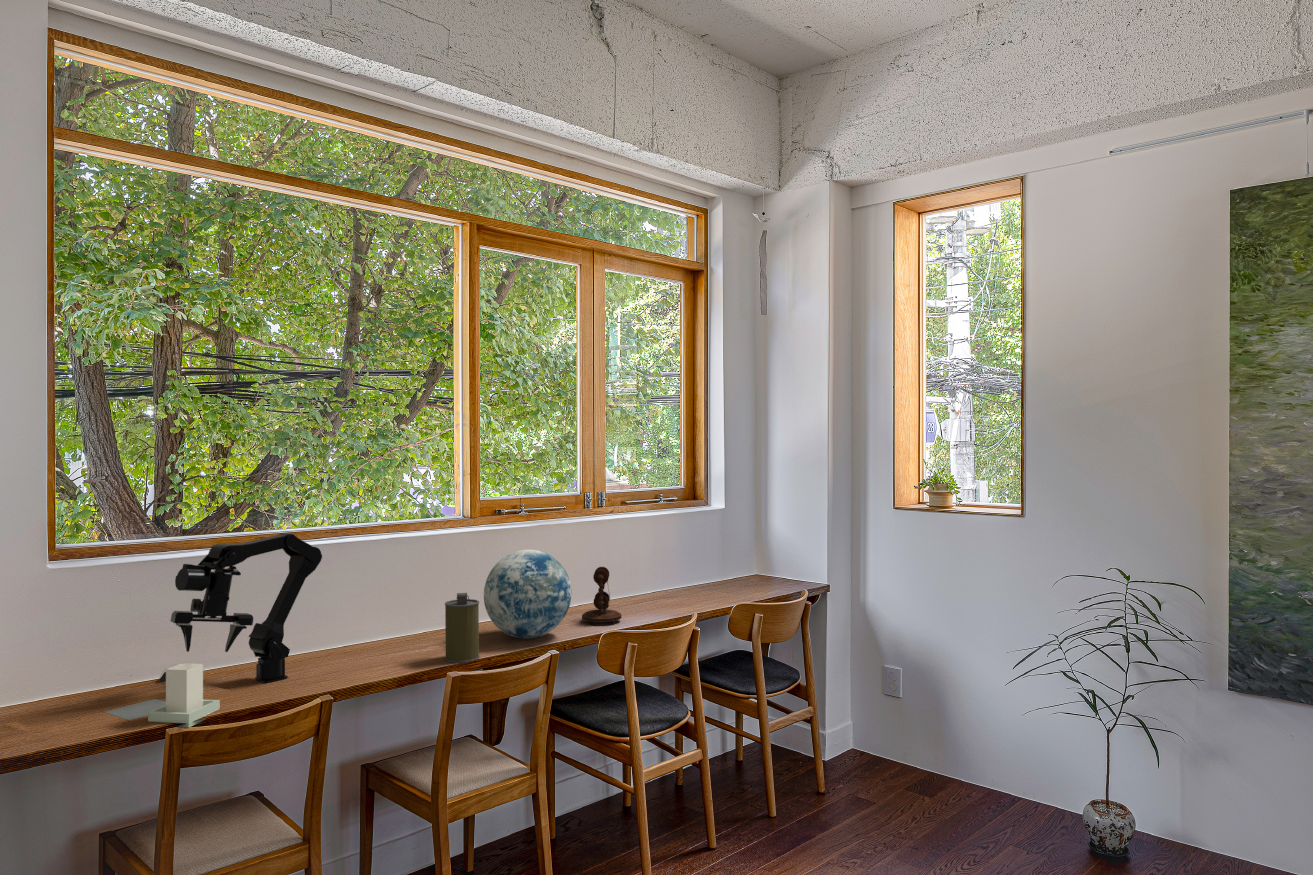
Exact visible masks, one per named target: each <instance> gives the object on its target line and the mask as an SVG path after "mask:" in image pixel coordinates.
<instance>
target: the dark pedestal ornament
mask: <svg viewBox="0 0 1313 875" xmlns="http://www.w3.org/2000/svg"><path fill="white" fill-rule="evenodd" d="M592 576H593V577H592V579H593V581H594V582H595V583H596V585H597V586H598V590H597V592H596V594H595V595H594V599H593V605H594V608H596V609H592V610H591V609H590V610H588V611H585V612H584V613H582V615H581V620H583V621H585V622H586V624H587V625H590V622H591V623H606V622H607V623H609V622H612V624H613V625H615V624H616V621H619V620H620V619H622V613H621V612H619V611H617V610H614V609H609V607H610V603H611V593H610V588H609V586H607V589H608V592H607V591H605V587H606V584H607V585H609V578H610V571H609V569H608V568H607V567H605V566H599V567H597V568H596V569H595V571H594V573H593V575H592Z"/></svg>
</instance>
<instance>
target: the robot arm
mask: <svg viewBox="0 0 1313 875" xmlns="http://www.w3.org/2000/svg"><path fill="white" fill-rule="evenodd" d="M278 550H283V552H284V553H285V554H286V555H287V556H289V561H288V573H287V576H286V577H285V580H284V582H283V584H282V587H281V589H280V590H279V592H278V594H277V597H276V598H275V601H274V602H273V605H272V607H271V609H270V611H269V613H268V615H267V617H266V619H265V620H264V621H263V622H261V623H258V622H256V623H255V624H254V616H253V615H252V614H251V613H247V612H246V613H245V612H233V615H229V614H228V615H227V610H228V604H229V601H230V592H231V587H232V582H233V576H241V574H242V573H241V572H240V571H239V569H238V568H237V566H236V565H239V564H240V563H243V562H244V561H246V560H247V559H248V558H251V557H254V556H260V555H263V554H266V553H271V552H274V551H275V552H276V551H278ZM322 559H323V554H322V551H321V550H320V548H319V547H317V546H312V545H311V544H309V543H308V542H305V541H304V540H303V539H300V538H298V537H297V535H295V534H293V533H287V532H281V533H280V534H279V533H278V534H276V535H272V536H268V537H263V538H260V539H254V540H251V541H246V542H241V543H240V542H239V543H233V542H232V543H229V542H227V543H218V544H217V543H216V544H214V545H212V546H211V548H210V549H209V550H208V554H206V556H205V557H204V558H202V560H201V561H200V562H199V563H198V564H196V565H195V564H189V563H183V564H182V567H181V569H180V570H179V571H178V573H177V574H176V576H175V580H174V581H175V582H174V584H175V588H176V590H177V591H183V592H184V591H185V592H186V591H187V592H203V591H205V592H204V593H205V594H204V595H203V599H202V600H201V598H192V599H191V603H190V610H173V611H172V613H171V614H170V615H171V617H170V622H171V623H173V624H175V626H177V627H179V628H180V630H181V631H182V635H183V639H184V640H183V641H184V645H185V651H186V652H187V653H189V652H190V649H191V646H192V645H191V643H192V633H193V625H192V624H191V623H192V622H204V623H205V622H210V623H230V624H229V631H228V632H229V633H228V635H227V640H226V643H225V647H224V648H225V650H224V652H225V653H228V652H229V650H230V648H231V647H232V645H233V644H234V642H235V640H236V639H237V637H238V636H239V635H240V634H241V632H242V630H244V629H245V630H246V629H247V628H248V627H247V626H253V628H252V631H251V633H250V634H249V635H248V638H249V640H248V646H249V649H250V650H251V651H252V652H253V654H254V656H255V658H257V663H256V664H255V665H256V666H255V667H256V671H255V672H256V674H255V675H256V676H255V677H254V680H257V681H260V682H262V683H265V684H266V683H267V684H268V683H272V682H276V681H279V680H280V681H281V680H284V679H288V678H289V675H286V658H288V657H289V654H290V651H291V649H290V648H289V647H288V646H286V644H284V643H283V640H284V637H285V628H284V625H285V623H286V621H287V618H288V616H289V615H290V612H291V610H292V608H293V606H294V604H295V602H296V600H297V598H298V596H299V593H300V591H301V589H302V587H303V584H304V583H305V581H306V579H307V577H309V576H311V574H312V573H313V572H314V571H316V570H317V568H318V567H319V564H320V563H321V562H322ZM212 570H213V571H212ZM195 612H196V613H197V614H196V613H195ZM194 613H195V614H194ZM231 623H232V624H231ZM253 624H254V625H253Z"/></svg>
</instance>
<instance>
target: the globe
mask: <svg viewBox="0 0 1313 875" xmlns="http://www.w3.org/2000/svg"><path fill="white" fill-rule="evenodd" d="M572 594H573V593H572V584H571V579H570V577H569V575H568V573H567V570H566V568H565V567H564V566H563V565H562V563H560V561H559V560H557V559H556V558H555V557H554V556H552V555H551V554H549V553H546V552H544V551H541V550H537V549H519V550H517V551H513V552H511V553H509V554H507V555H505V556H504V557H502V558H501V559H500V560H499V561H497V562H496V563H495V565H494V566H493V567H492V568H491V570H490V571H489V572H488V576H487V577H486V580H485V583H484V588H483V604H484V608H485V611H486V613H487V616H488V617H489V619H490V620H491V622H492V623H493V624H494V625H495V627H496V628H498V629H499V630H500V631H501V632H503V633H505V634H506V635H508V636H511V637H513V638H517V639H535V638H539V637H543V636H545V635H547V634H549V633H550V632H552V631H553V630H555V629H556V628H557V627H558V626H559V625H560V623H562V621H563V620H564V618H566V615H567V613H568V611H569V609H570V606H571V603H572V601H571V600H572Z"/></svg>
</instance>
